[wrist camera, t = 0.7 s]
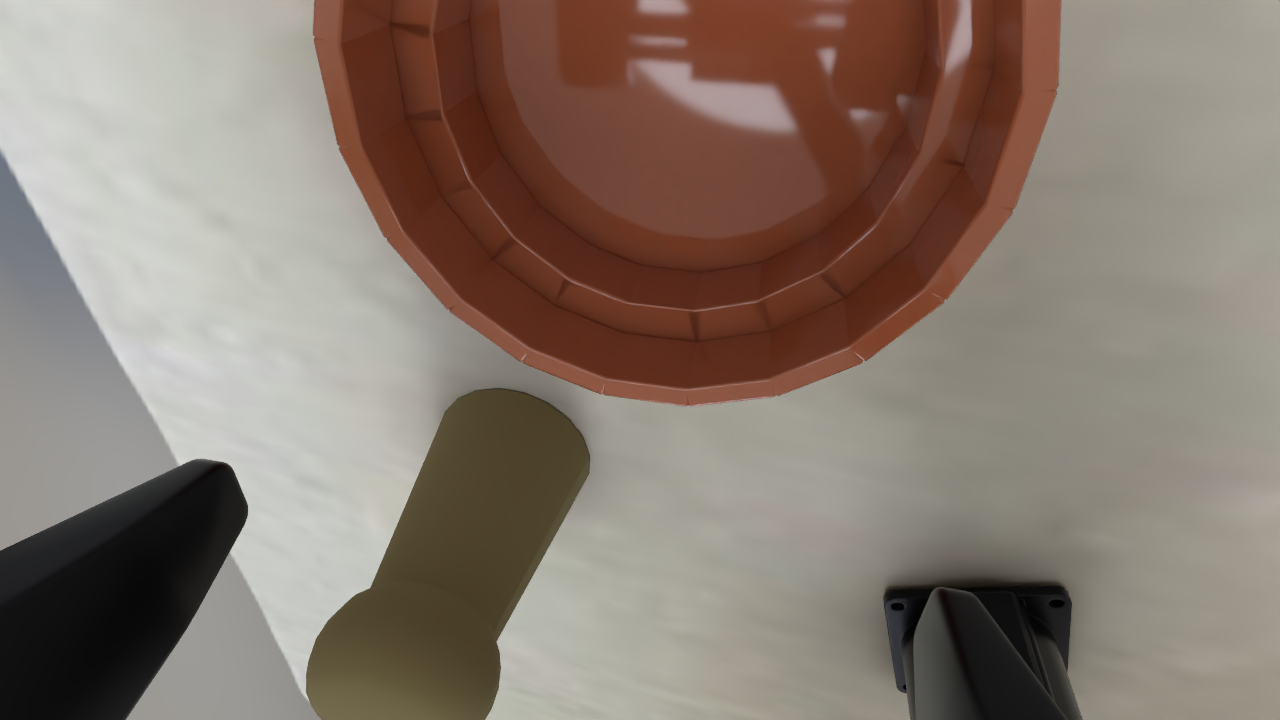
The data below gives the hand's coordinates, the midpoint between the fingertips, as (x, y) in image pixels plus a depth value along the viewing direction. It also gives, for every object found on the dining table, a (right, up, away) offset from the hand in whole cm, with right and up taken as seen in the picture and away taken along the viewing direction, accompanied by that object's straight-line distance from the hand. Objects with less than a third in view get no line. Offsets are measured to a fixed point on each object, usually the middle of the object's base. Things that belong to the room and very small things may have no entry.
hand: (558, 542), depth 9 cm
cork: (-4, -1, +18) cm, 19 cm away
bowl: (+2, +10, +9) cm, 14 cm away
